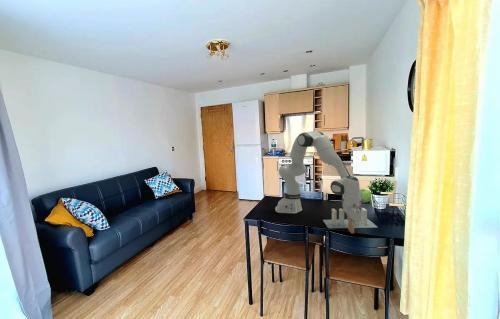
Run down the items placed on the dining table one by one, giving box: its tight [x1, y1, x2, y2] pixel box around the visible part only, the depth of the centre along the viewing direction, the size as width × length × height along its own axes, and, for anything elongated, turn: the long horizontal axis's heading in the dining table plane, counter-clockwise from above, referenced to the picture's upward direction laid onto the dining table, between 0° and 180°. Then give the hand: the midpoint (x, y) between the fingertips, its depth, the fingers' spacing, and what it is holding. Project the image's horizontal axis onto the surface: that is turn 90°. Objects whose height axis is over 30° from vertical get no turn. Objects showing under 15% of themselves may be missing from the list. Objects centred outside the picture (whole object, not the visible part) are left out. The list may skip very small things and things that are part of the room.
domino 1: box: [331, 208, 338, 225], centre depth 154 cm, size 2×5×10 cm, turn 176°
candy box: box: [342, 188, 363, 210], centre depth 183 cm, size 14×6×16 cm, turn 84°
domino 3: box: [347, 216, 355, 234], centre depth 142 cm, size 2×5×10 cm, turn 176°
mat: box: [322, 218, 378, 229], centre depth 154 cm, size 32×14×1 cm, turn 86°
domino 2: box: [338, 207, 345, 225], centre depth 154 cm, size 2×5×10 cm, turn 176°
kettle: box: [361, 188, 372, 204], centre depth 198 cm, size 15×14×11 cm
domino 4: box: [360, 207, 368, 225], centre depth 153 cm, size 2×5×10 cm, turn 176°
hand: (351, 222), depth 142 cm, fingers closed on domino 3, 5 cm apart
